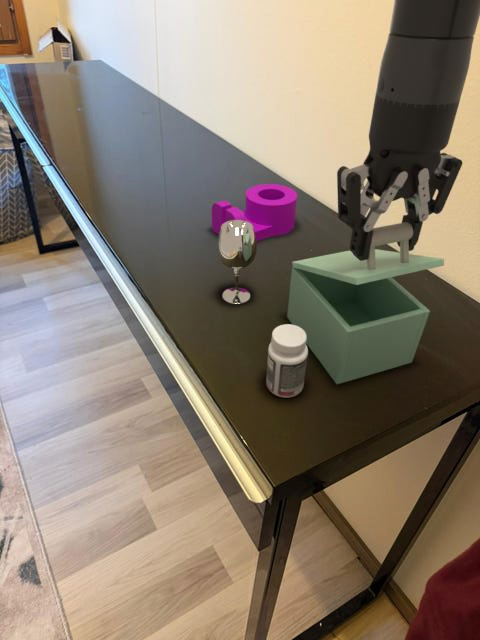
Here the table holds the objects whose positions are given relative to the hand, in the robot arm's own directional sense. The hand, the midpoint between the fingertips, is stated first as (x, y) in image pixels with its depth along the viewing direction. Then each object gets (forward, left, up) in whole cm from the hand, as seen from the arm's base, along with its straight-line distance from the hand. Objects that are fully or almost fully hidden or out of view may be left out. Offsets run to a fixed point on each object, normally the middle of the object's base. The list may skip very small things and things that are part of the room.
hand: (382, 252), depth 52 cm
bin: (+3, 0, -16) cm, 16 cm away
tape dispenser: (+38, -1, -16) cm, 41 cm away
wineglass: (+18, +11, -16) cm, 27 cm away
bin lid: (+3, 0, -4) cm, 5 cm away
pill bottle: (-2, +12, -16) cm, 20 cm away
